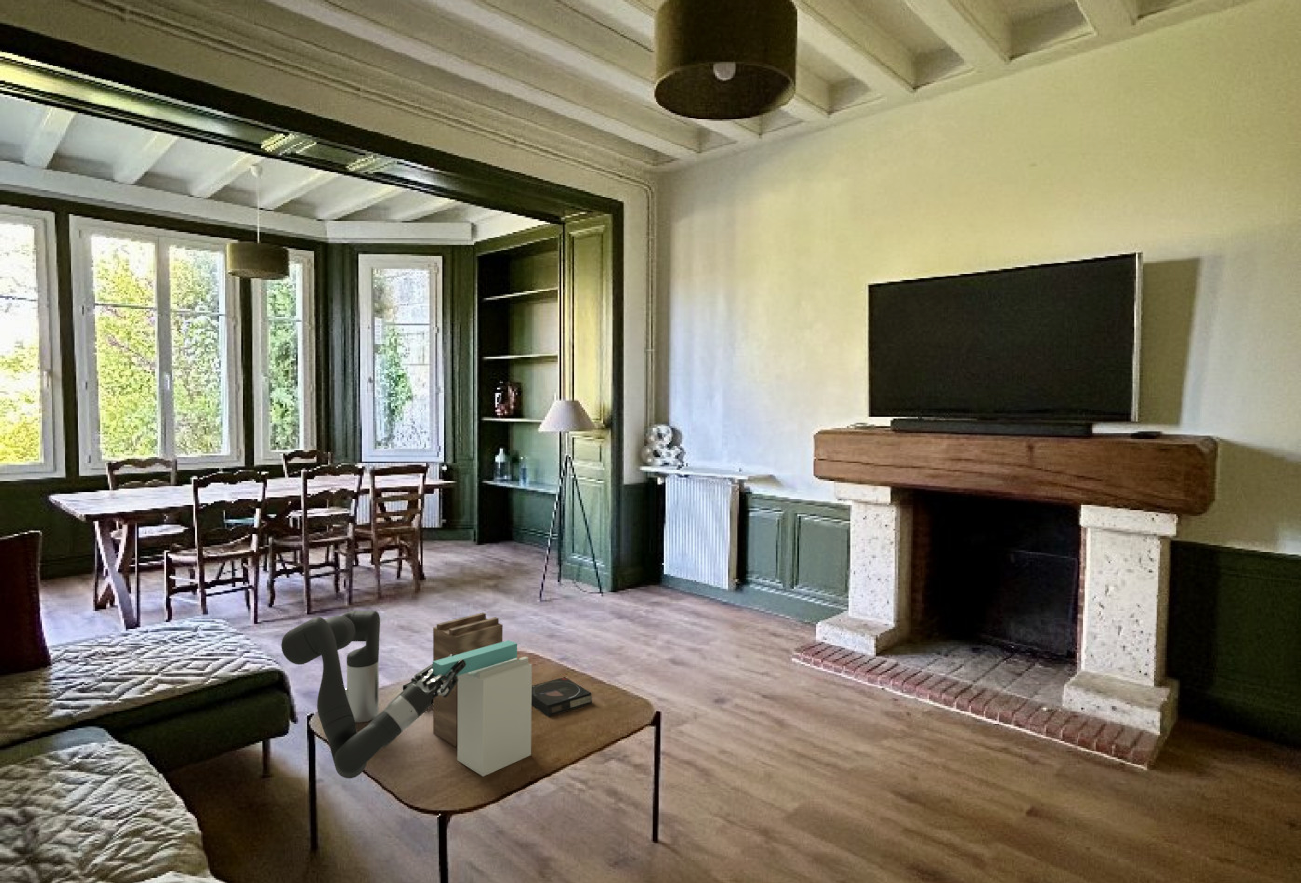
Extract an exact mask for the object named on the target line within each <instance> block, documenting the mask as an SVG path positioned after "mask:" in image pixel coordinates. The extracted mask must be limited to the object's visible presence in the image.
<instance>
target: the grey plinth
mask: <svg viewBox="0 0 1301 883" xmlns="http://www.w3.org/2000/svg"><path fill="white" fill-rule="evenodd" d="M532 670H533V664H531V663H529V657H528V656H521V657H519V658H518V657H517V658H514V659H511V660H508V661H504V662H501V663H498V664H495V665H491V666H488V667H485V668H481V669H478V670H475V671H472V672H468V673H465V674H462V675H459V676H458V746H457V751H456V753H457V757H456V758H457V760H456V761H458V762H459V763H461V764H463V765H464V766H466V767H467V768H468V769H470V770H472V771H473V772H475V773H477V774H478V775H479V776H481V777H485V776H487V775H490V774H492V773H494V772H496V771H498V770H500V769H501V770H502V769H503V768H505V767H507V766H510V765H512V764H514V763H516V762H519V761H521V760H524V759H525V758H527V757H530V756H532V705H531V699H532V686H533V684H532V683H533V681H532V678H533V676H532V674H533V673H532V672H533V671H532Z"/></svg>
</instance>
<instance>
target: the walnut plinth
mask: <svg viewBox="0 0 1301 883" xmlns="http://www.w3.org/2000/svg"><path fill="white" fill-rule="evenodd" d="M499 620H500V619H499V618H498V617H496V616H495V617H491V618H487V614H486V612H479V613H475V614H472V615H469V616H464V617H459V618H455V619H452V620H448V621H444V622H440V623H437V624H436V626H434V627H432V629H433V630H432V632H433V633H432V636H433V638H432V639H433V640H432V641H433V642H432V644H433V645H432V647H433V648H432V652H433V653H432V655H433V656H432V660H433V661H436V660H439V659H443V658H447V657H448V656H450V655H451V654H452V655H457V654H461V653H465V652H468V651H472V650H475V649H479V648H482V647H486V646H490V645H493V644H497V643H500V642H503V629H504V627H503V624H502V623H499V622H500V621H499ZM433 661H432V662H433ZM456 677H457V678H458V676H456ZM452 681H453V680H452ZM452 681H451V683H452ZM442 682H443V683H444V680H442ZM432 712H433V713H432V723H433V725H432V729H433V730H432V732H433V734H434V735H435V736H437V737H439V738H440V739H442V740H444V741H445V742H447V743H449V744H450V745H452V746H454V748H458V682H457V683H456V685H455V686H454V688H453V689H452V690H451V692H450V693H449V695H448V696H447V697H445V698H444V697H443V695H438V696H437V697H435V698H433V704H432Z"/></svg>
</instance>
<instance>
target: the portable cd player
mask: <svg viewBox="0 0 1301 883" xmlns="http://www.w3.org/2000/svg"><path fill="white" fill-rule="evenodd" d="M591 704H593V697H592V692H591V691H590V690H587V689H585V688H584V687H582V686H580V685H579V684H577V683H575V682H574V681H572V680H570V679H569V678H567V677H566V676H564V677H560V678H556V679H552V680H549V681H544V682H542V683H537V684H534V685H533V684H532V699H531V707H534V708H535V709H537V710H538V711H539V712H541V713H542V714H544V715H545V716H546V717H552V716H555V715H558V714H561V713H565V712H568V711H571V710H574V709H578V708H581V707H584V706H588V705H591Z"/></svg>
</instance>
